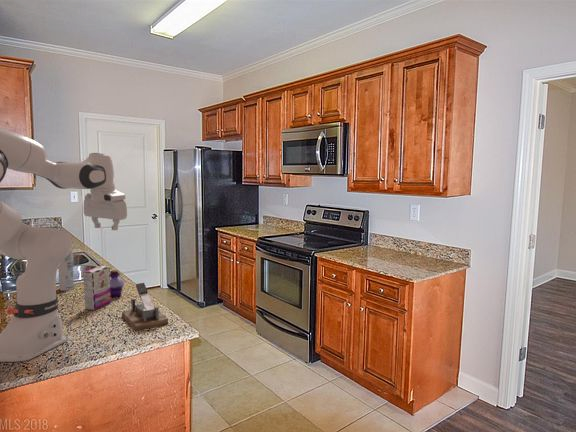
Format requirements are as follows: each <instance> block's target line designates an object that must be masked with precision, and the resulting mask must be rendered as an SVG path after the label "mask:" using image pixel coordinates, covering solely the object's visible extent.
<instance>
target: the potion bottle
mask: <svg viewBox="0 0 576 432" xmlns="http://www.w3.org/2000/svg"><path fill="white" fill-rule="evenodd" d="M120 275H121V274H120V272H119V270H110V284H111V299H112V298H120V297H121V296H122V293H123V287H124V285H125V280H124V279H122V278H119V277H120Z"/></svg>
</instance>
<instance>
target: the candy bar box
mask: <svg viewBox="0 0 576 432" xmlns="http://www.w3.org/2000/svg"><path fill="white" fill-rule="evenodd" d="M110 272H111V269H110V265H99V266H96V267H93V268H91V269H88V270H84V271H83V272H82V273H83V274H82V276H83V290H84V291H83V292H84V308H85V310H88V311H89V310H91V311H97V310H98V309H100V308H102V307H104V306H107V305H108V304H110V303H112V298H111V284H110V280H111V277H110Z"/></svg>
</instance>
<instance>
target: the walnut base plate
mask: <svg viewBox="0 0 576 432" xmlns="http://www.w3.org/2000/svg"><path fill="white" fill-rule="evenodd" d="M121 317H122V318H123V319H124V320H125V322H127V323H128V324H129V325H130V327H132V328H133V329H134V331H135V332H137V331H141V330H146V329H151V328H154V327H160V326H164V325H168V324H169V318H168V317H167V316H165V315H164V314H163V313H162V312H161V311H159V320H155V319H150V320H146V322H145V323H144V322H142V318H141V317H140V316H139V315H138V314H137V313H135V312H132V311H131V309H130V310H123V311H122V312H121Z"/></svg>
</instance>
